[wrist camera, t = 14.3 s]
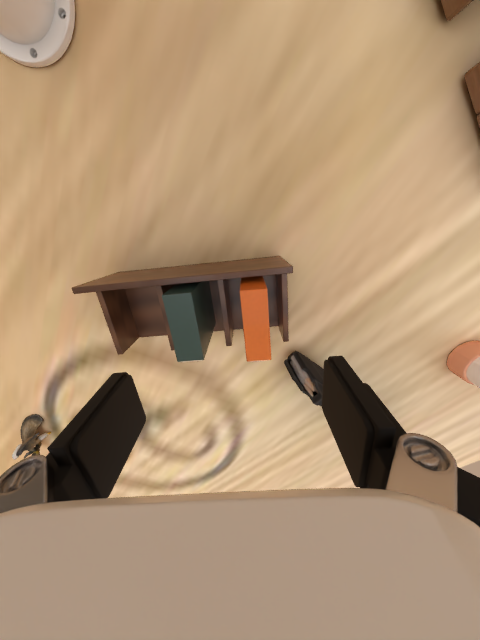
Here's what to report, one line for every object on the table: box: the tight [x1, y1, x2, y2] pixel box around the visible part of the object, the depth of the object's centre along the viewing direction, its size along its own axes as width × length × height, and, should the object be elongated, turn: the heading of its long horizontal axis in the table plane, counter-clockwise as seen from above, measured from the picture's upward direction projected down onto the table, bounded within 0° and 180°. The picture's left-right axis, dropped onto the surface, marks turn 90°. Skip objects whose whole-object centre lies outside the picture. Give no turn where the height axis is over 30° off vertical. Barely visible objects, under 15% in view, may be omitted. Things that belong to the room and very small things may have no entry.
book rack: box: [72, 256, 293, 354], centre depth 34 cm, size 12×27×11 cm, turn 96°
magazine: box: [284, 351, 324, 406], centre depth 41 cm, size 17×3×30 cm
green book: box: [162, 281, 216, 362], centre depth 33 cm, size 9×4×12 cm, turn 6°
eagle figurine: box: [12, 414, 51, 459], centre depth 49 cm, size 8×7×9 cm
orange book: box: [240, 276, 271, 362], centre depth 32 cm, size 9×3×13 cm, turn 6°
